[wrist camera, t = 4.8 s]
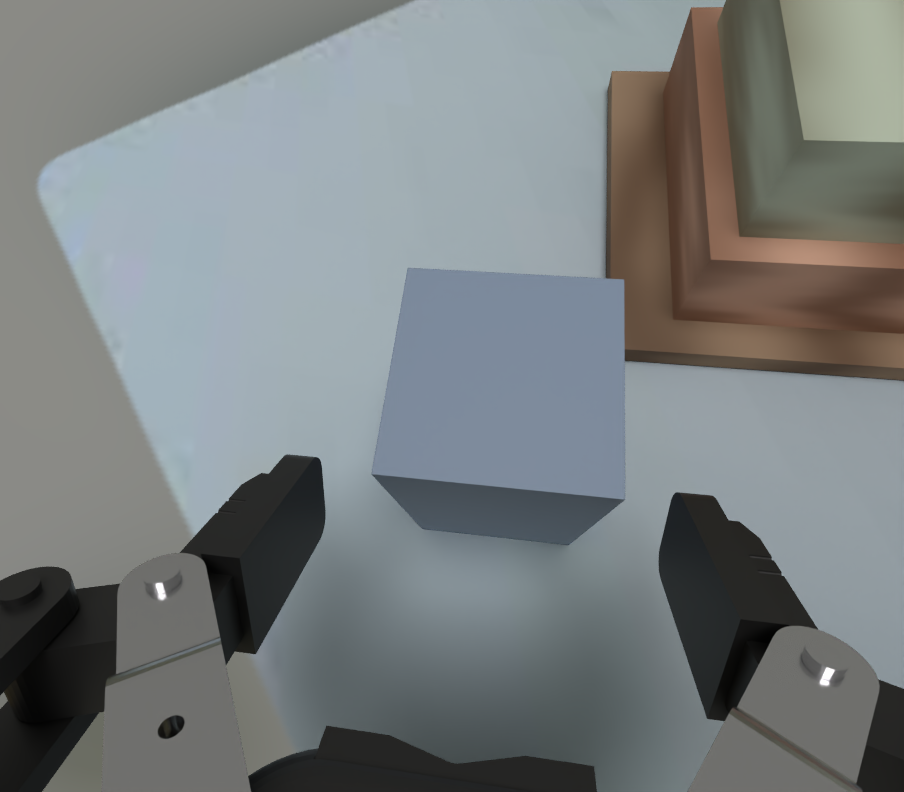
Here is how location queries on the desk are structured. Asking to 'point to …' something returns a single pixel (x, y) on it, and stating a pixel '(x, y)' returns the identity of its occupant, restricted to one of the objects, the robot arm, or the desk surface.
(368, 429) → the desk surface
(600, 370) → the slate brick
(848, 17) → the stepped tiered pedestal
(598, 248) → the desk surface
